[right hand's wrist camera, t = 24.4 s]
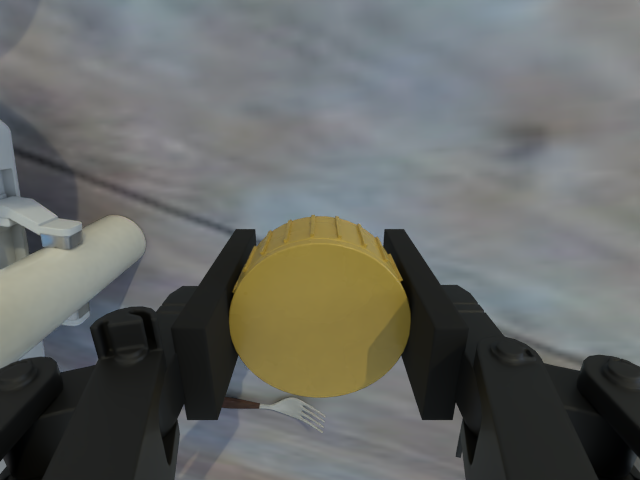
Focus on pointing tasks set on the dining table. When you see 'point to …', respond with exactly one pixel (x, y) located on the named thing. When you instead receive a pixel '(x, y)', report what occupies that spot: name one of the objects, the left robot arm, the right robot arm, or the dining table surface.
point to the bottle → (62, 282)
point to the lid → (319, 308)
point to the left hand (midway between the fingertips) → (81, 274)
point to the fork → (278, 408)
